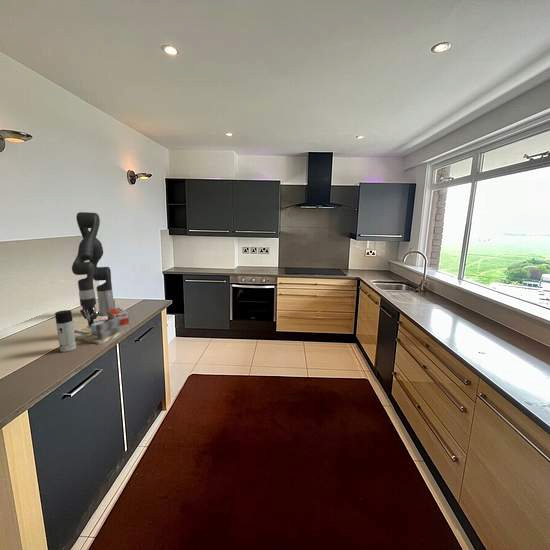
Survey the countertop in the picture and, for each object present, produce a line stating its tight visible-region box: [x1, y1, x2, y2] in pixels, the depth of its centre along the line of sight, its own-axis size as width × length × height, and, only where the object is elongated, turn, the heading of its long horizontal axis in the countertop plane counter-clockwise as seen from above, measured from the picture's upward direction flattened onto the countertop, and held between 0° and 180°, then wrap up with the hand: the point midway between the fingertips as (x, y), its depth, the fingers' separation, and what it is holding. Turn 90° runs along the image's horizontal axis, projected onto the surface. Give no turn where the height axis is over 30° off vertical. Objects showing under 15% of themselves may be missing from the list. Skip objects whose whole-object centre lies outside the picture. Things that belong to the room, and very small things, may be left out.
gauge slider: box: [87, 320, 104, 336], centre depth 161 cm, size 10×6×6 cm, turn 158°
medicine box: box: [106, 306, 130, 326], centre depth 186 cm, size 15×8×8 cm, turn 46°
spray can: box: [54, 309, 77, 353], centre depth 146 cm, size 7×7×20 cm
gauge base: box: [74, 318, 125, 345], centre depth 165 cm, size 16×26×10 cm, turn 68°
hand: (91, 326), depth 166 cm, fingers closed
